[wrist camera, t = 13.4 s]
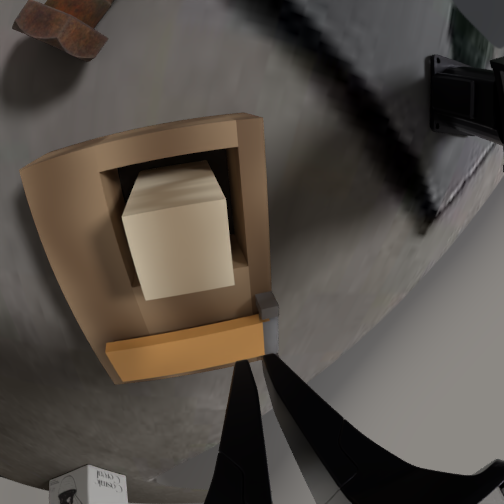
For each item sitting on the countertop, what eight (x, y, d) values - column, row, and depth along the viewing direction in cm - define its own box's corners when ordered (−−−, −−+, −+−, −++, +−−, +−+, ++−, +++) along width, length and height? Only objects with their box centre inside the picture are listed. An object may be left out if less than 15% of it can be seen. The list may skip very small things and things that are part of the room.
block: (244, 112, 16) (272, 120, 12) (259, 321, 24) (279, 371, 20) (48, 152, 14) (6, 178, 9) (118, 346, 22) (114, 399, 18)
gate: (274, 307, 18) (280, 320, 17) (275, 340, 20) (281, 352, 19) (106, 340, 16) (104, 354, 15) (123, 370, 18) (122, 384, 17)
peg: (206, 159, 17) (225, 198, 11) (213, 220, 19) (234, 285, 13) (139, 171, 16) (121, 217, 10) (151, 231, 18) (145, 300, 13)
